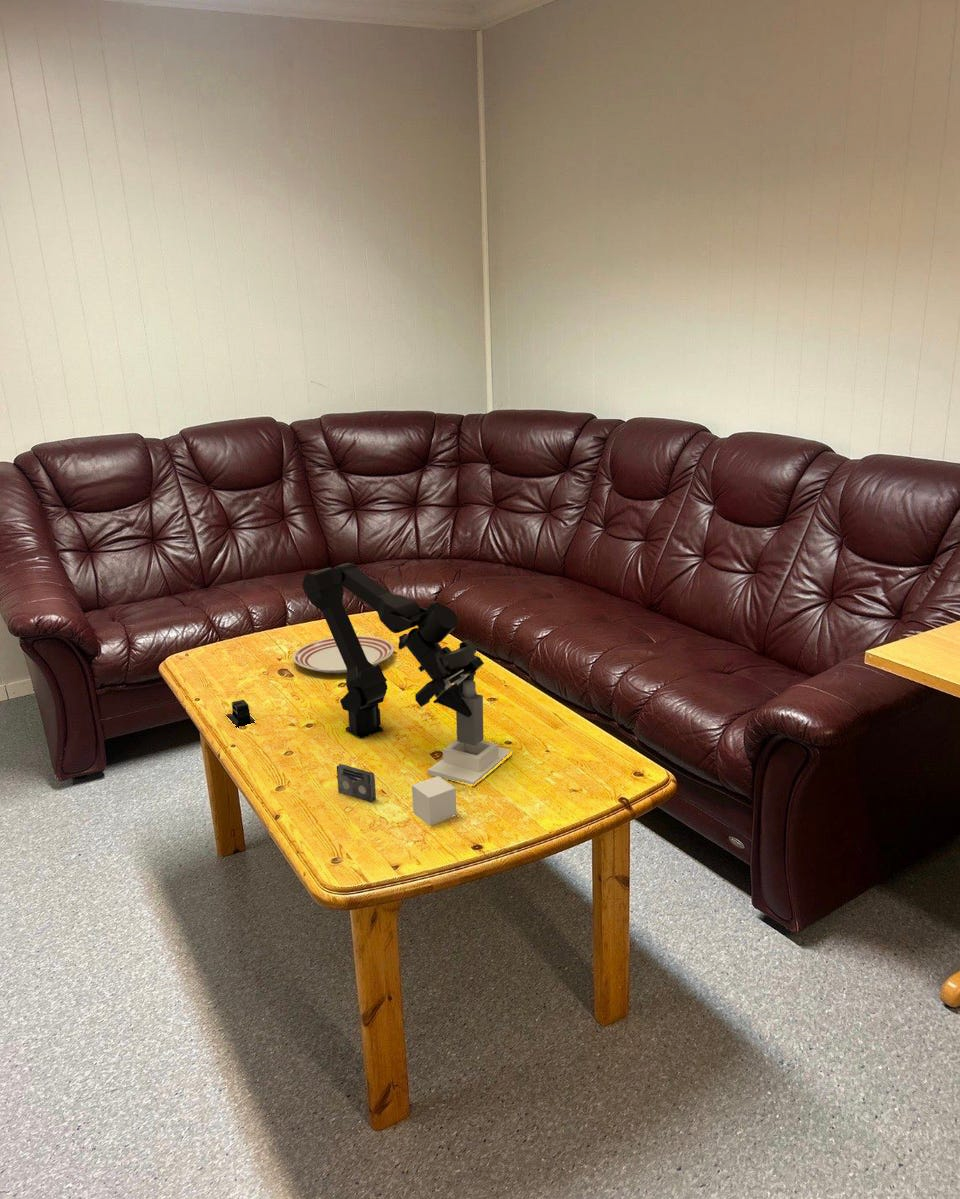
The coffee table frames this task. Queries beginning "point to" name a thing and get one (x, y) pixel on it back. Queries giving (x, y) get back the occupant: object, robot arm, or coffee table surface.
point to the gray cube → (434, 800)
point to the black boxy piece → (240, 714)
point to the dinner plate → (330, 660)
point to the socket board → (468, 761)
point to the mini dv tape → (356, 783)
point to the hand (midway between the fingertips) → (475, 712)
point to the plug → (473, 725)
